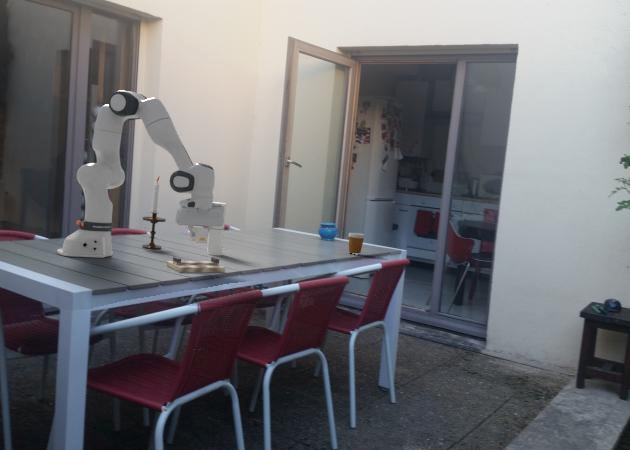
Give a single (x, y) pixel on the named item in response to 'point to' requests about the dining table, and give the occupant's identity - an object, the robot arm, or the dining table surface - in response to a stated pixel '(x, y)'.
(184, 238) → the dining table surface
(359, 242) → the glass of beer
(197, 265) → the board
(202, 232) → the module
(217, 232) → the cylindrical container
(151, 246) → the candlestick
